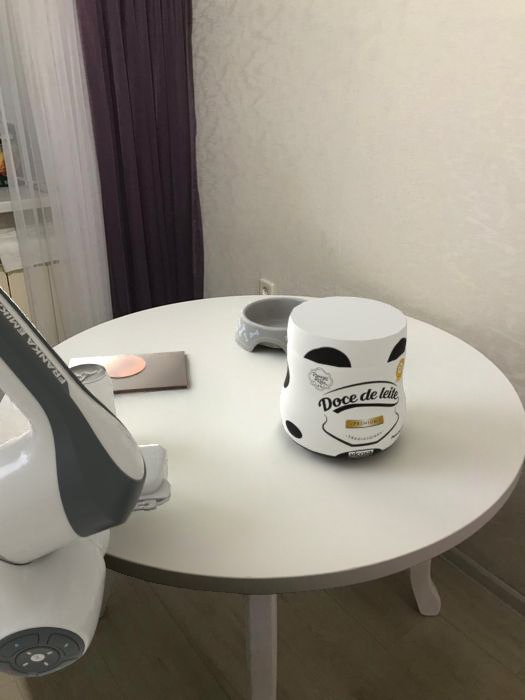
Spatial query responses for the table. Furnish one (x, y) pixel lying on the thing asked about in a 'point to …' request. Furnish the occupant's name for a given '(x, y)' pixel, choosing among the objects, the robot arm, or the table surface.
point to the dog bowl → (266, 322)
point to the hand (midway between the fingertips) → (83, 439)
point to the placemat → (142, 371)
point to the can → (96, 382)
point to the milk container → (344, 376)
